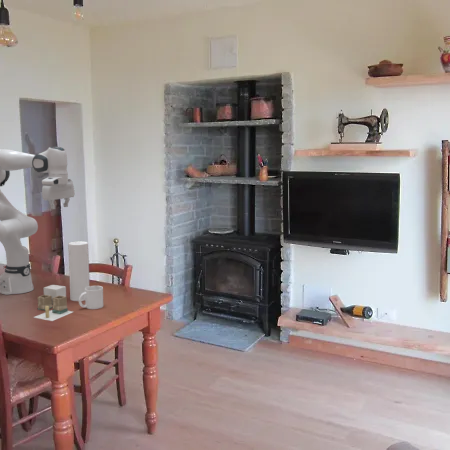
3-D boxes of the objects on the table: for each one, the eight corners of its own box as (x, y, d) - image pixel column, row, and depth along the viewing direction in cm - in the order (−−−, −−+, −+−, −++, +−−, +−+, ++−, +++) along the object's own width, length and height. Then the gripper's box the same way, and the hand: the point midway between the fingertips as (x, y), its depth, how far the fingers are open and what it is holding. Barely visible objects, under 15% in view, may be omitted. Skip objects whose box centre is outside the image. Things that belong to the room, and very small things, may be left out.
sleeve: (37, 311, 243) (36, 297, 242) (45, 308, 248) (44, 294, 246) (45, 313, 241) (44, 298, 240) (52, 310, 246) (52, 295, 244)
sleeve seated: (52, 312, 238) (51, 298, 237) (59, 309, 242) (59, 295, 241) (60, 314, 236) (59, 299, 235) (67, 311, 240) (67, 296, 239)
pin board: (33, 319, 232) (32, 306, 231) (55, 310, 244) (55, 298, 243) (52, 323, 227) (51, 310, 226) (73, 314, 240) (73, 301, 239)
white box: (43, 305, 252) (42, 287, 250) (53, 302, 258) (53, 284, 256) (56, 308, 248) (55, 290, 247) (66, 304, 255) (65, 286, 253)
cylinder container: (84, 304, 255) (82, 244, 251) (67, 302, 257) (64, 243, 252) (93, 298, 264) (91, 240, 260) (76, 297, 266) (73, 239, 262)
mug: (82, 314, 240) (81, 292, 238) (75, 309, 246) (74, 288, 245) (106, 309, 248) (105, 288, 246) (98, 305, 254) (98, 284, 252)
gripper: (66, 178, 265) (67, 205, 267) (39, 181, 246) (40, 209, 249) (77, 179, 263) (78, 206, 265) (49, 181, 244) (51, 210, 246)
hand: (59, 208), depth 257 cm, fingers open, 8 cm apart
